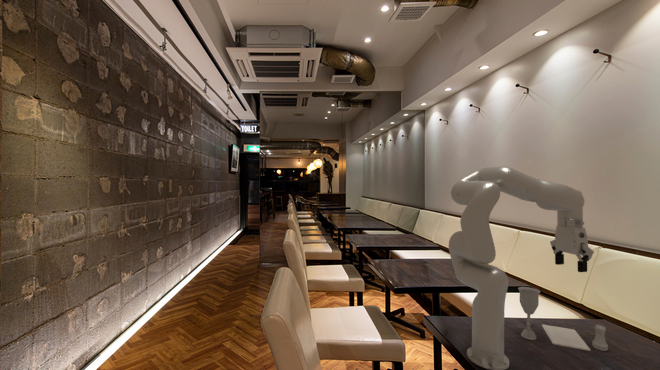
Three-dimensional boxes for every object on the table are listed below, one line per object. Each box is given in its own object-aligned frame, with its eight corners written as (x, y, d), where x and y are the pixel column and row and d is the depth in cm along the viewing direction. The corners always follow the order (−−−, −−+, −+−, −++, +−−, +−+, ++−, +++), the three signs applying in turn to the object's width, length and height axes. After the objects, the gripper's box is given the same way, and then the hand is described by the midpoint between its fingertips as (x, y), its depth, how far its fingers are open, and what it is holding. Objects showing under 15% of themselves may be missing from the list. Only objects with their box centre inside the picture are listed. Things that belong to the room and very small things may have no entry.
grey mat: (590, 351, 105) (590, 349, 105) (552, 344, 110) (552, 342, 110) (574, 330, 120) (574, 329, 120) (541, 325, 124) (541, 324, 124)
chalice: (533, 332, 118) (534, 287, 118) (544, 341, 111) (544, 293, 111) (514, 331, 119) (514, 286, 119) (523, 340, 112) (523, 292, 112)
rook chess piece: (602, 352, 105) (602, 329, 105) (588, 345, 109) (588, 323, 109) (611, 350, 106) (611, 328, 106) (597, 344, 110) (597, 322, 110)
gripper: (601, 225, 104) (602, 274, 104) (559, 219, 121) (560, 261, 121) (581, 226, 103) (582, 275, 103) (542, 220, 120) (543, 262, 120)
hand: (570, 267), depth 112 cm, fingers open, 9 cm apart
